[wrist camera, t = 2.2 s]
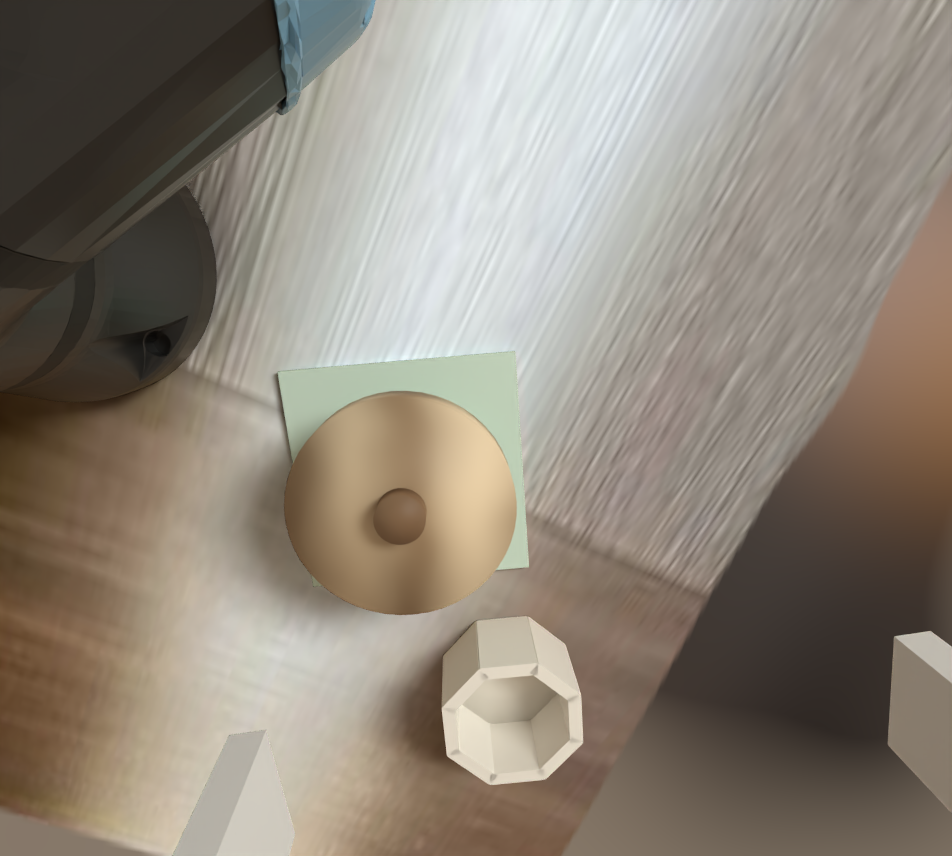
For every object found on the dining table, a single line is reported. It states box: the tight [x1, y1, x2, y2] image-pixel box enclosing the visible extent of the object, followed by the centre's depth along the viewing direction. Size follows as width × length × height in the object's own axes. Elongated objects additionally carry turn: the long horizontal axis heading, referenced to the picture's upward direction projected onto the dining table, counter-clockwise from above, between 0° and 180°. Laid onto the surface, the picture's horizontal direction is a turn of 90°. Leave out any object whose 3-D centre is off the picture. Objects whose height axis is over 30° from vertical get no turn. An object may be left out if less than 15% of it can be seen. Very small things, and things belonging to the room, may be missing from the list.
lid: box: [284, 391, 517, 615], centre depth 31 cm, size 12×12×3 cm
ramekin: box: [442, 616, 583, 785], centre depth 38 cm, size 8×8×5 cm
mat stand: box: [278, 351, 529, 587], centre depth 34 cm, size 14×14×4 cm
